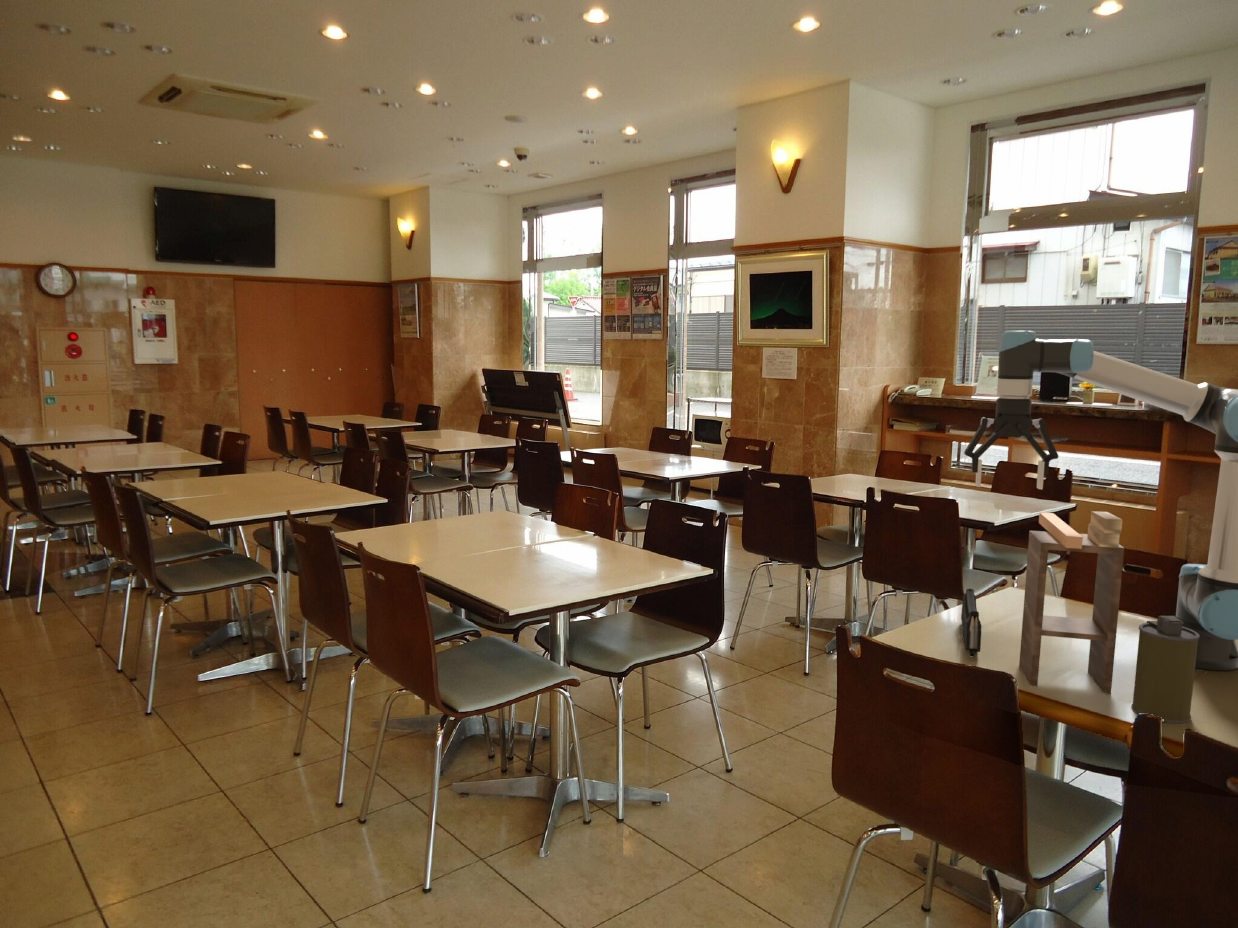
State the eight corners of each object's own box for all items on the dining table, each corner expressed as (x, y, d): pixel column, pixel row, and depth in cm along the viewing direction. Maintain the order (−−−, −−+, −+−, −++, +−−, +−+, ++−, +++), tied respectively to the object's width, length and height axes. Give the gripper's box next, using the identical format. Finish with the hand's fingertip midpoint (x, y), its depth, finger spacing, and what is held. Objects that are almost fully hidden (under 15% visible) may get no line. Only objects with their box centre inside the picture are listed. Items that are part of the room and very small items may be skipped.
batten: (1038, 522, 211) (1039, 512, 211) (1052, 523, 210) (1053, 513, 210) (1066, 547, 184) (1066, 535, 184) (1081, 548, 183) (1082, 536, 183)
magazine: (962, 588, 238) (969, 583, 210) (975, 589, 237) (983, 584, 209) (959, 653, 236) (965, 656, 208) (972, 654, 235) (980, 658, 207)
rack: (1094, 672, 202) (1109, 508, 197) (1111, 694, 189) (1127, 520, 184) (1019, 665, 206) (1031, 504, 201) (1030, 686, 193) (1043, 515, 188)
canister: (1203, 723, 174) (1213, 626, 172) (1150, 723, 174) (1160, 625, 172) (1168, 702, 185) (1178, 609, 183) (1119, 701, 185) (1127, 609, 182)
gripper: (1068, 397, 207) (1061, 487, 210) (955, 395, 213) (950, 483, 215) (1076, 399, 200) (1070, 491, 202) (959, 397, 205) (954, 487, 208)
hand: (1008, 487), depth 209 cm, fingers open, 13 cm apart
